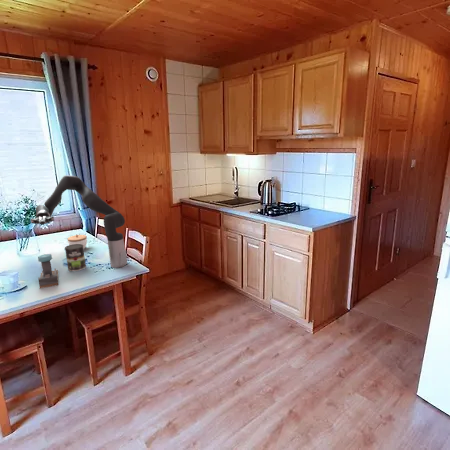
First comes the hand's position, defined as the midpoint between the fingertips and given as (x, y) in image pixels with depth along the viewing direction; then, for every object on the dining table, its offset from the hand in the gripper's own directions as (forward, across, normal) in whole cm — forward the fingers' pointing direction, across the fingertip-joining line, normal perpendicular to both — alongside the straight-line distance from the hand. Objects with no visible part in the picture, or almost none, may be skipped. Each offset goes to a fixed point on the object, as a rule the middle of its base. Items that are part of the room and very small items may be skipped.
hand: (42, 223), depth 188 cm
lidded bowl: (-34, -18, -30) cm, 49 cm away
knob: (+19, 0, -29) cm, 34 cm away
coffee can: (+4, -15, -30) cm, 34 cm away
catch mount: (+15, 0, -30) cm, 34 cm away
